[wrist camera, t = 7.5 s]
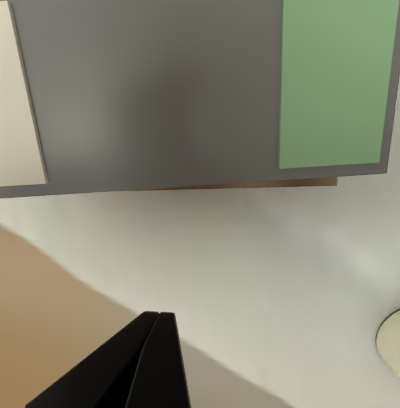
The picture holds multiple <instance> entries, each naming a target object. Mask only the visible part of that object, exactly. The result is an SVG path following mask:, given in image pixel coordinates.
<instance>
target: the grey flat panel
mask: <svg viewBox="0 0 400 408" xmlns="http://www.w3.org/2000/svg"><path fill="white" fill-rule="evenodd" d="M399 74H400V0H0V198H14V197H29V196H45V195H60V194H76V193H91V192H106V191H122V190H137V189H153V188H168V187H184V186H199V185H214V184H230V183H245V182H261V181H276V180H292V179H307V178H322V177H338V176H353V175H369V174H384V173H387V166H388V158H389V151H390V143H391V135H392V128H393V120H394V113H395V105H396V97H397V90H398V82H399Z"/></svg>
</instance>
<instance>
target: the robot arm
mask: <svg viewBox="0 0 400 408" xmlns="http://www.w3.org/2000/svg"><path fill="white" fill-rule="evenodd" d="M25 408H191V403H190V397H189V392H188V386H187V380H186V374H185V369H184V363H183V357H182V352H181V346H180V340H179V334H178V328H177V323H176V317H175V314H174V313H172V312H161V313H158V312H152V311H145V312H143V313H141V314H140V315H139V316H138V317H136V318H135V319H134V320H133V321H131V322H130V323H129V324H128V325H126V326H125V327H124V328H123V329H121V330H120V331H119V332H117V333H116V334H115V335H114V336H113V337H111V338H110V339H109V340H107V341H106V342H105V343H104V344H102V345H101V346H100V347H99V348H97V349H96V350H95V351H93V352H92V353H91V354H90V355H89V356H87V357H86V358H85V359H83V360H82V361H81V362H80V363H78V364H77V365H76V366H75V367H73V368H72V369H71V370H70V371H68V372H67V373H66V374H64V375H63V376H62V377H61V378H59V379H58V380H57V381H56V382H54V383H53V384H52V385H50V387H48V388H47V389H46V390H44V391H43V392H42V393H40V394H39V395H38V396H37V397H35V398H34V399H33V400H31V401H30V402H29V403H28V404H26V406H25Z"/></svg>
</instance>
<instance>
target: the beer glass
mask: <svg viewBox="0 0 400 408" xmlns="http://www.w3.org/2000/svg"><path fill="white" fill-rule="evenodd" d="M376 346H377V350H378V353H379V355H380V357H381V358H382V360H383V361H384V362H385V363H386V365H387V366H388V367H389V368H390V369H391V370H392V371H393V372H394V373H395V374H396V376H397V377H398V378H399V379H400V310H399V311H397V312H395V313H394V314H392V315H391V316H390V317H388V318H387V319H386V320H385V321H384V322H383V324H382V325H381V327H380V328H379V331H378V333H377V337H376Z"/></svg>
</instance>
